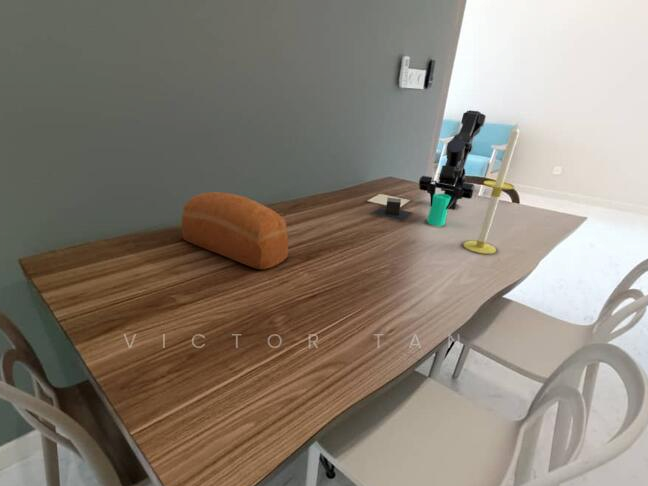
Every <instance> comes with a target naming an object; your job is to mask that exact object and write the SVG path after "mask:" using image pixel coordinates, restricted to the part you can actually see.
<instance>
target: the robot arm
mask: <svg viewBox="0 0 648 486" xmlns="http://www.w3.org/2000/svg"><path fill="white" fill-rule="evenodd" d="M485 122H486V115H485V114H484V113H481V111H479V110H467V111H466V112H463V114H462V118H461V121H460V124H461V128H460V130H459V132H458V133H457V134H455V135H454V136H453V138H452V139H450V140H449V141H448V143H447V145H446V161H445V164H444V165H442V167H441V170H440V172H439V176H438V181H437V180H435V179H433V176H428V175H421V176H420V177H419V180H418V186H419V190H420V191H426V193H427V194H429V196H430V207H431V206H432V200H433V195H434V194H436V189H440V191H441V192H443V194H447V195H449V196H451V199H450V201H449V204H448V206H447V207H446V209H448V210H449V209H452V210H455V209H456V208H457V207H458V206H459V204H458V200H461V199H472V198H473V195H474V191H475V183H471V182H470V183H469V182H467V179H466V170H465V166H466V163H467V160H468V157H469V155H470V154H471V152H472V151H473V149H474V148H473V141H474V138H475V137H476V136H477V135H478V134H480V132H481V130H482V127H484V125H485Z"/></svg>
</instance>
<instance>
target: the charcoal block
mask: <svg viewBox="0 0 648 486" xmlns="http://www.w3.org/2000/svg"><path fill="white" fill-rule="evenodd" d="M400 205H401V199H396V198H387V204H386V205H385V207H386V211H385V214H389V215H397V216H398V215H399V210H401V207H400Z"/></svg>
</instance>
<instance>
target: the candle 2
mask: <svg viewBox="0 0 648 486" xmlns="http://www.w3.org/2000/svg"><path fill="white" fill-rule="evenodd" d="M519 122H520V121H519V120H518V121H517V123H516V125H515V126H514V128H513V129H512V130H511V131H510V134H509V136H508V139H507V143H506V145H505V150H504V153H503V157H502V160H501V163H500V167H499V170H498V173H497V176H496V180H485V181H483V185H484V186H486V187H488V188H491V189H492V192H491V193H490V197H489V201H488V204H487V207H486V210H485V214H484V217H483V220H482V224H481V227H480V230H479V234H478V237H477V240H468V241H465V242H464V243H463V244H462V245H463V247H464V248H465V249H466V250H467V251H470V252H473V253H476V254H481V255H492V254H495V253H496V252H497V249H496V247H495V246H493V245H492V244H489V243H487V239H488V236H489V231H490V229H491V226H492V223H493V220H494V216H495V214H496V210H497V207H498V204H499V201H500V197H501V194H502V191H503V190H514V189H515V185H514V184H511V183H509V182H505V179H506V176H507V173H508V170H509V167H510V164H511V160H512V157H513V154H514V150H515V148H516V144H517V141H518V138H519V134H520V130H519Z"/></svg>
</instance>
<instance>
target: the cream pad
mask: <svg viewBox="0 0 648 486" xmlns="http://www.w3.org/2000/svg"><path fill="white" fill-rule="evenodd" d="M387 198H396V199H401V205H400V208H401V207H402V206H403V207H404V205H406V204H407V203H408V202H410V201H411V199H407V198H401V197H398V196H392V195H388V194H383V193H379V194H376V195H375V196H373V197H371V198H370V199H367V202H370V203H375V204H378V205H382V206H386V204H387Z"/></svg>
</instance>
